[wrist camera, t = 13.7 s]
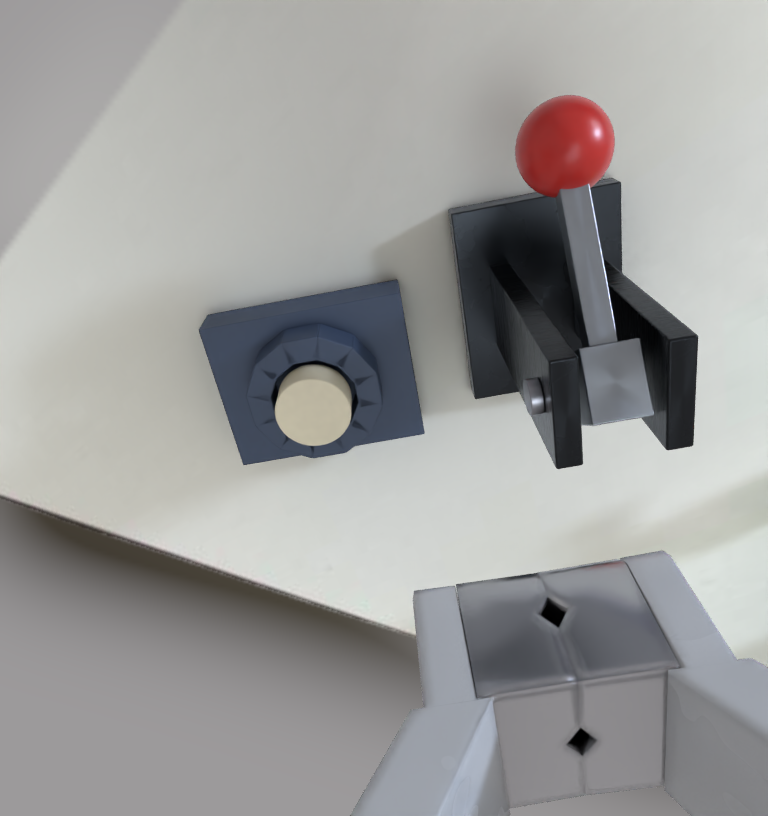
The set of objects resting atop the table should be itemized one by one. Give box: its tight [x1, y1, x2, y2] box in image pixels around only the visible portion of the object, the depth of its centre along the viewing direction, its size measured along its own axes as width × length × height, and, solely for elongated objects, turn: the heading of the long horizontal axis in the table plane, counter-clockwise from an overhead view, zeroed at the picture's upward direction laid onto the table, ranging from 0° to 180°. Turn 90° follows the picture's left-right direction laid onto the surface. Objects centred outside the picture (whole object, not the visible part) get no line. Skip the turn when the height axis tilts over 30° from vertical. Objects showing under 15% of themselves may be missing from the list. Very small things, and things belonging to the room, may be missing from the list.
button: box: [275, 364, 352, 446], centre depth 32 cm, size 4×4×2 cm
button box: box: [199, 280, 424, 465], centre depth 34 cm, size 8×10×4 cm
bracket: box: [448, 178, 698, 469], centre depth 29 cm, size 10×8×13 cm
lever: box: [515, 95, 654, 426], centre depth 25 cm, size 12×4×4 cm
